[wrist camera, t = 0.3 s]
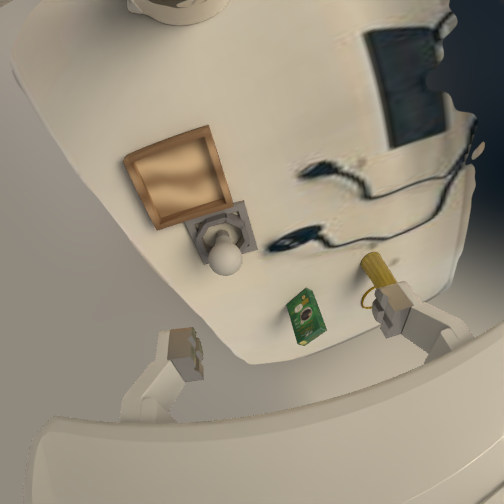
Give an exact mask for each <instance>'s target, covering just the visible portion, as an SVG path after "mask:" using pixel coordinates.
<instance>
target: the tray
mask: <svg viewBox="0 0 504 504" xmlns="http://www.w3.org/2000/svg"><path fill="white" fill-rule="evenodd" d="M123 162H124V165H125V167H126V169H127V171H128V173H129V175H130V177H131V180H132V182H133V184H134V186H135V188H136V190H137V192H138V194H139V196H140V198H141V200H142V202H143V204H144V206H145V208H146V210H147V212H148V214H149V216H150V218H151V220H152V222H153V224H154V226H155V228H156V230H160V229H163V228H166V227H170V226H173V225H176V224H179V223H182V222H185V221H188V220H191V219H195V218H198V217H201V216H204V215H208V214H211V213H214V212H218V211H221V210H224V209H228V208H231V207H234V206H233V201H232V197H231V194H230V191H229V188H228V185H227V181H226V178H225V175H224V172H223V169H222V166H221V162H220V159H219V156H218V153H217V150H216V147H215V143H214V140H213V137H212V134H211V131H210V128H209V125H206V126H203V127H200V128H197V129H194V130H191V131H188V132H185V133H182V134H179V135H176V136H173V137H171V138H168V139H165V140H162V141H160V142H157V143H155V144H152V145H150V146H147V147H145V148H142V149H140V150H137V151H135V152H132V153H130V154H128V155H127V156H126V157H125V158H124V160H123Z"/></svg>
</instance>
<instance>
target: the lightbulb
mask: <svg viewBox="0 0 504 504" xmlns="http://www.w3.org/2000/svg"><path fill="white" fill-rule="evenodd" d="M208 259H209V264H210V267H211V268H212V270H213V271H214V272H216V273H217V274H219V275H223V276H229V275H232V274H234V273H235V272H237V271H238V270H239V268H240V267H241V264H242V253H241V251H240V250H239V248H238V247H237V246H236V245H234V244H233V243H232V241H231V239H230V237H229V234H228V232H226V231H219V232H218V233H217V235H216V241H215V246H214V247H213V248H212V249H211V251H210V253H209V258H208Z"/></svg>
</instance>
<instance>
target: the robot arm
mask: <svg viewBox="0 0 504 504" xmlns="http://www.w3.org/2000/svg"><path fill="white" fill-rule="evenodd" d="M10 1H12V0H0V7H1V6H3V5H5V4H7V3H8V2H10ZM229 1H230V0H127V8H128V10H129V11H130V12H132V13H137V14H146V15H148V16H150V17H152V18H153V19H155V20H157V21H159V22H162V23H165V24H169V25H191V24H195V23H199V22H202V21H205V20H207V19H209V18H211V17H213V16H214V15H216V14H217V13H219V12H220V11H221V10H222V9H223V8H224V7H225V6H226V5H227V4H228V2H229ZM375 297H376V299H375V300H374V301H373V304H372V312H373V315H374V318H375V320H376V321H377V322H379V323H381V327H380V329H381V330H382V332H383V334H384V336H385V337H386V338H389V337H392V336H396V335H399V334H402V335H403V336H404V337H405V338H407V339H409V340H410V341H411V342H413V343H414V344H416V345H417V346H419V347H420V348H421V349H423V350H424V351H426V352H427V353H428V354H429V355H428V356H427V358H426V360H425V362H424V365H422V366H420V367H417V368H415V369H413V370H410V371H408V372H406V373H403V374H401V375H399V376H396V377H393V378H391V379H389V380H386V381H383V382H380V383H378V384H375V385H372V386H370V387H367V388H363V389H360V390H358V391H354V392H351V393H348V394H345V395H342V396H338V397H335V398H331V399H328V400H324V401H320V402H316V403H312V404H308V405H304V406H300V407H296V408H291V409H286V410H281V411H276V412H271V413H265V414H260V415H253V416H247V417H240V418H232V419H224V420H214V421H203V422H189V423H178V422H177V421H176V420H175V419H174V418H173V417H172V416H171V415H170V414H169V413H168V412H169V411H170V409H171V407H172V405H173V404H174V402H175V400H176V399H177V397H178V395H179V393H180V392H181V390H182V388H183V387H184V385H185V382H190V381H197V380H203V379H204V378H203V376H204V375H203V366H202V363H201V361H202V360H203V350H202V345H201V342H200V340H199V338H197V337H196V331H195V329H194V328H193V327H190V328H182V329H172V330H165V331H160V332H159V335H158V342H157V350H156V357H155V358H156V359H155V361H153V362H151V363H150V365H149V366H148V367H147V368H146V370H145V371H144V372H143V373H142V374H141V376H140V377H139V378H138V379H137V381H136V382H135V383H134V384H133V386H132V387H131V388H130V389H129V391H128V392H127V393H126V394H125V395H124V397H123V399H122V406H121V413H120V421H119V423H117V422H103V421H93V420H84V419H76V418H69V417H62V416H54V417H52V418H51V419H50V420H48V421H47V422H46V423H45V424H44V425H43V426H42V427H41V428H40V430H39V431H38V432H37V433H36V434H35V436H34V437H33V440H32V442H31V445H30V448H29V453H28V458H27V463H26V469H25V478H24V486H23V504H504V320H503V321H501V322H500V323H498V324H497V325H495V326H494V327H492V328H490V329H489V330H487V331H486V332H484V333H483V334H481V335H479V336H477V337H476V338H475V337H474V336H473V334H472V333H471V332H470V330H469V329H468V328H467V326H466V325H465V323H464V322H463V321H462V320H460V319H458V318H456V317H454V316H452V315H450V314H448V313H446V312H444V311H442V310H440V309H438V308H436V307H434V306H432V305H430V304H428V303H425V302H424V303H422V302H421V300H420V299H419V298H418V296H417V295H416V294H415V292H414V291H413V290H412V289H411V287H410V286H409V285H408V283H407V282H405V281H402V282H398V283H395V284H391V285H388V286H384V287H381V288H377V289H376V291H375Z"/></svg>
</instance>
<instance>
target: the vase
mask: <svg viewBox="0 0 504 504" xmlns="http://www.w3.org/2000/svg"><path fill="white" fill-rule="evenodd" d="M361 267H362V268H363V270H364V271H365V272H366V274H367V275H368V277H369V278H370V280H371V281H372V283H373V284H374V286H375V288H376V289H377V288H381V287H384V286H388V285H391V284H395V283H397V281H396V280H395V278H394V276H393V275H392V273H391V272H390V270H389V269H388V267H387V265H386V264H385V262H384V261H383V259H382V258H381V256H380V254H379V253H377V252H372V253H370V254H368V255H366V256H365V257H364V258H363V260H362V262H361Z"/></svg>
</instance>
